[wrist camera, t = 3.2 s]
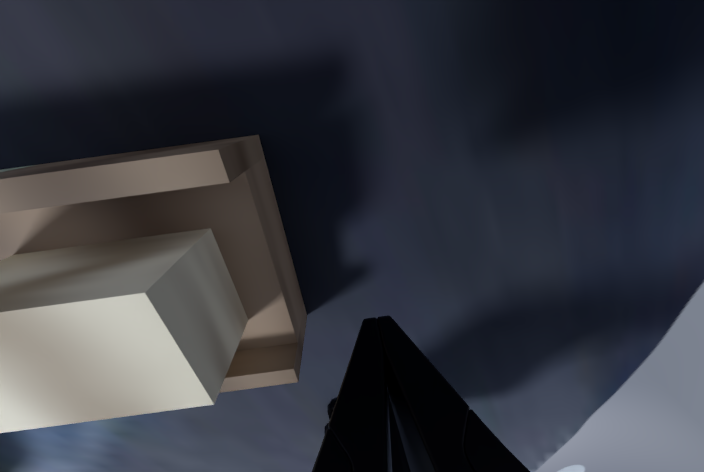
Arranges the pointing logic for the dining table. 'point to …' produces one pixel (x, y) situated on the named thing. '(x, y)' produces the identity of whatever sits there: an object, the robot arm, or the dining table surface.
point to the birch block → (115, 329)
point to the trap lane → (175, 230)
